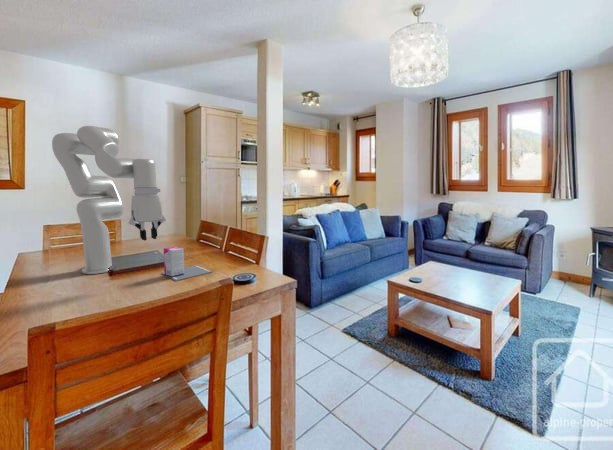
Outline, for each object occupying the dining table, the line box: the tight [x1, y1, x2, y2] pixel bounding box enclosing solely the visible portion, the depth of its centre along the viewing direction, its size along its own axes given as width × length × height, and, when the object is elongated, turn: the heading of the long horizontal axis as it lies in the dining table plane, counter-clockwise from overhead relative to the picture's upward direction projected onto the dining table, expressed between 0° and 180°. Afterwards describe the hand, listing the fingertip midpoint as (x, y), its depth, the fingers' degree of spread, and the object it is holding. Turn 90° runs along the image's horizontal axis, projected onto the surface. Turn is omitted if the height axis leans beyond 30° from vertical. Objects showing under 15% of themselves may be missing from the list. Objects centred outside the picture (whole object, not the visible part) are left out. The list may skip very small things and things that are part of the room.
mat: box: [161, 264, 213, 282], centre depth 131 cm, size 14×16×1 cm
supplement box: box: [163, 246, 185, 278], centre depth 126 cm, size 6×6×12 cm
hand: (149, 238), depth 118 cm, fingers open, 3 cm apart
